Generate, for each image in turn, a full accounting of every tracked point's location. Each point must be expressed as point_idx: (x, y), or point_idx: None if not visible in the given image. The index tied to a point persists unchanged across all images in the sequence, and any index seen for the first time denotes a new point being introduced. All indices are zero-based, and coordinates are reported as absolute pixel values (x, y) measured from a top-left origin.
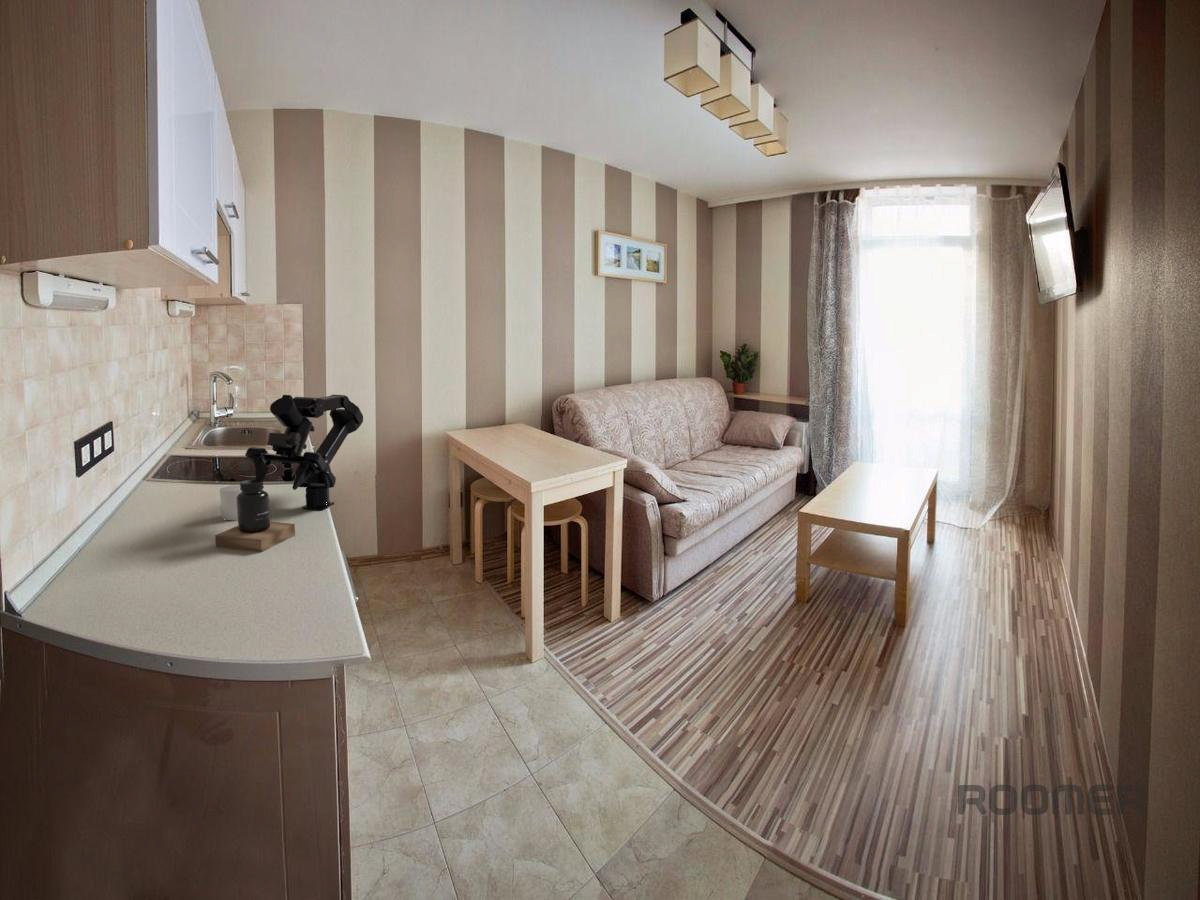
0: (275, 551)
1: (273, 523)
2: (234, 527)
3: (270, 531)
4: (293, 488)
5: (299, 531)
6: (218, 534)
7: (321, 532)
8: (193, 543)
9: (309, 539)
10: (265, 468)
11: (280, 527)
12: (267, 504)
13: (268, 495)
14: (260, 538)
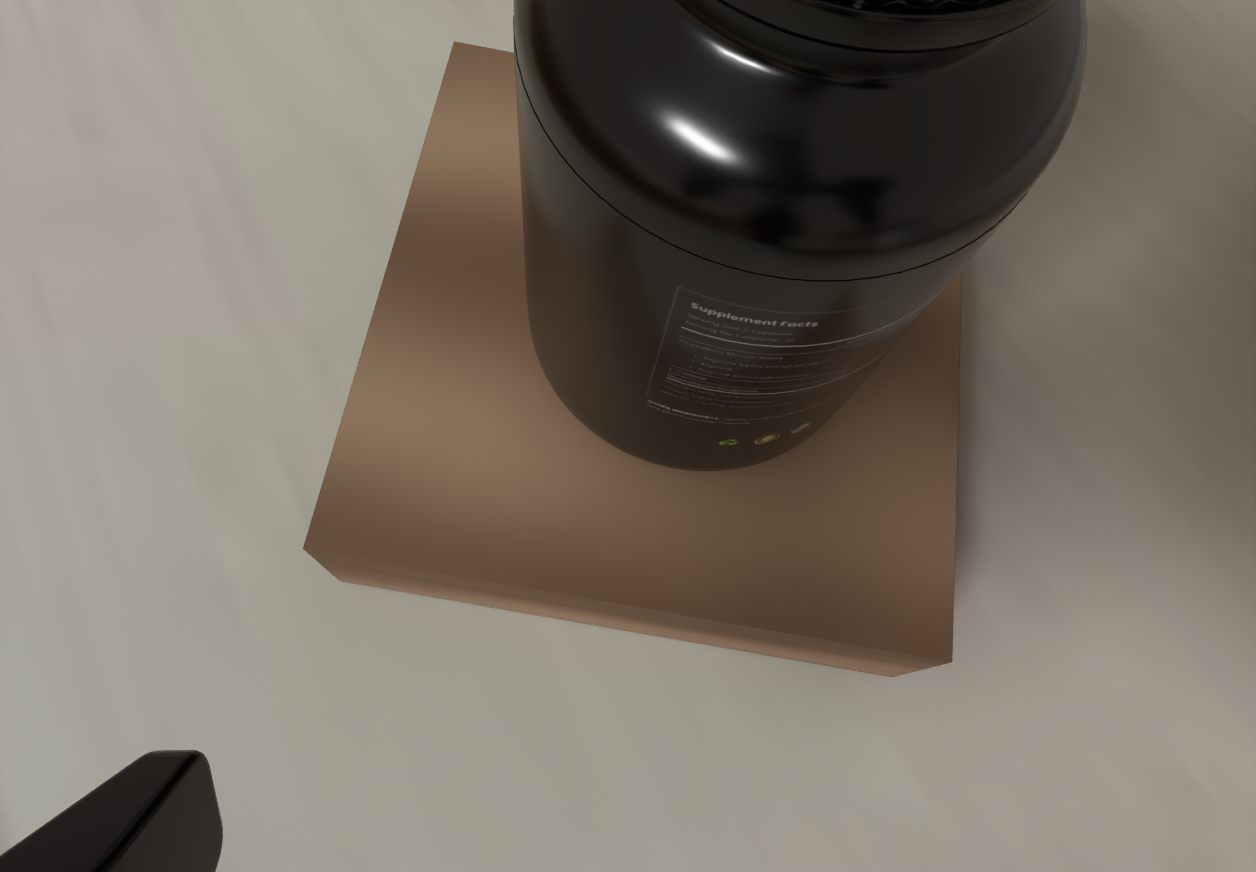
0: (351, 147)
1: (590, 542)
2: (951, 365)
3: (477, 263)
4: (173, 753)
5: (341, 724)
6: None
7: (42, 714)
8: (1169, 293)
9: (126, 461)
10: None
11: (425, 398)
12: (517, 113)
13: (542, 102)
14: (476, 74)
